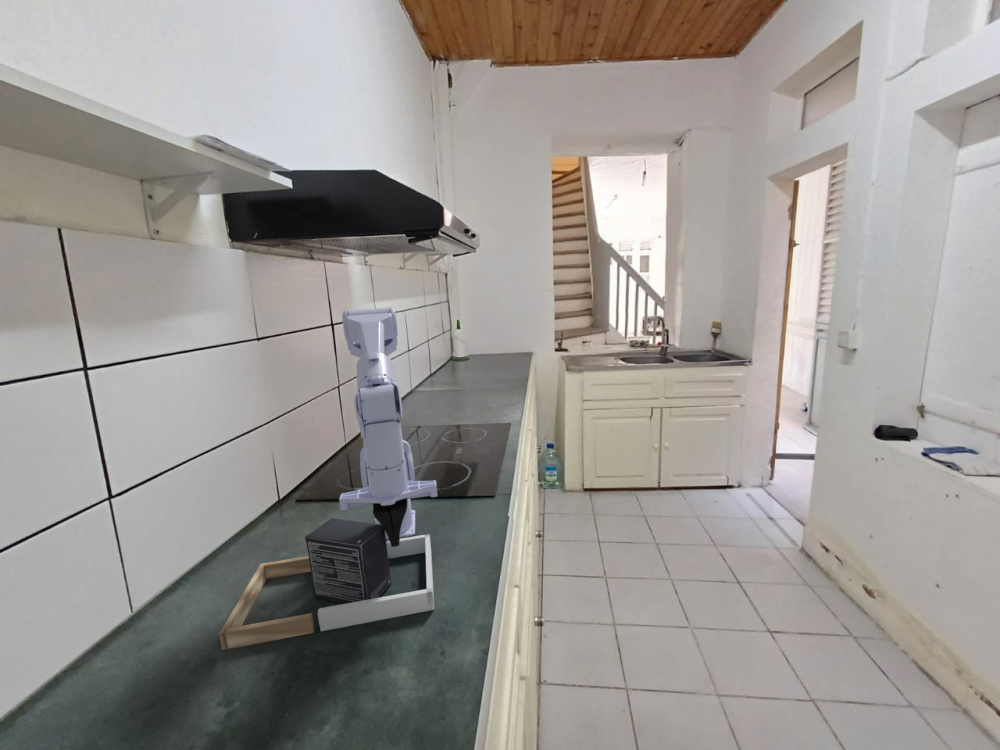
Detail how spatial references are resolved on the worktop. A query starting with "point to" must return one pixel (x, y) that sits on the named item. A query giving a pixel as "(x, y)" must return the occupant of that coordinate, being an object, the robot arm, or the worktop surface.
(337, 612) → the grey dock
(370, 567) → the small box
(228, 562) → the worktop surface
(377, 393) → the robot arm
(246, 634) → the block
